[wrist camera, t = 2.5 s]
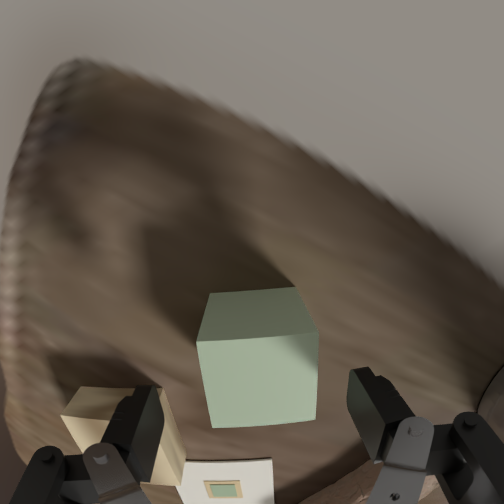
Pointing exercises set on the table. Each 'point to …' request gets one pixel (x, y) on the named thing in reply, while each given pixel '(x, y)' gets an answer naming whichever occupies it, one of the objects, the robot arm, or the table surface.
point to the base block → (98, 417)
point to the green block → (258, 358)
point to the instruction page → (227, 482)
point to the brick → (359, 487)
